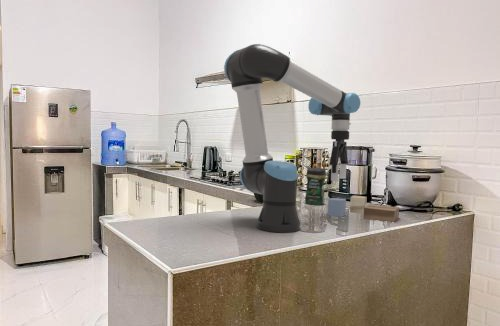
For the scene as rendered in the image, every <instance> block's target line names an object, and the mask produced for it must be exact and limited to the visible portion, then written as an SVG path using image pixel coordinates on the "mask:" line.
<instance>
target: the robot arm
mask: <svg viewBox="0 0 500 326" xmlns="http://www.w3.org/2000/svg"><path fill="white" fill-rule="evenodd" d="M223 69H224V75H225V77H226V79H227V80H228V81H229V82H230V83H231V89H232V90H233V91H235V93H236V96H237V104H238V111H239V119H240V124H241V125H240V126H241V132H242V139H243V145H244V153H245V157H244V158H243V159H242V168H241V170H240V171H239V172H240V173H239V180H240V183H241V185H242V186H243V188H245V189H246V190H247V191H249V192H250V193H253V194H254V193H257V194H262V195H263V202H262V207H261V209H260V210H261V211H260V213H259V216H258V218H257V225H256V226H257V229H259V230H262V231H265V232H271V233H293V232H298V231H299V230H301V221H300V218H299V214H298V210H297V192H298V191H297V189H298V178H299V177H298V176H299V175H298V168H297V166H296V165H295V164H293V163H292V162H287V161H282V160H274V157H273V155H272V154H270V153H269V150H268V149H269V148H268V143H267V136H266V128H265V121H264V113H263V106H262V97H261V87H263V85H264V84H263V79H268V80H271V81H273V82H275V83H278V82H281V83H283V84H285V85H287V86H289V87H291V88H293V89H295V90H296V91H297V92H300V93H301V94H303V95H306V96H308V97H310V99H309V101H308V107H307V108H308V111H309V113H310V114H311V115H315V116H329V117H331V132H330V133H331V135H330V137H331V138H330V139H331V140H333V141H332V149H331V154H330V160H329V164H328V165H329V166H331V168H330V182H331V181H332V182H338V181H339V179H340V180H341V179H343V180H344V179H345V180H346V179H347V165H349V160H348V159H349V158H348V148H347V147H348V146H347V141H346V140H348V141H349V139H350V131H349V130H350V126H351V125H352V123H351V122H350V120H351V119H350V118H351V114H353V113H357V111H358V110H359V109H360V107H361V99H360V97H359V95H358V94H357V93H355V92H344V91H343V90H341V89H340V88H337V87H336V86H334V85H332V84H330V83H329V82H327V81H325V80H323V79H322V78H320V77H318V76H317V75H315V74H313V73H311V72H309V71H307V70H306V69H305V68H302V67H301V66H299V65H298V64H295V63H294V62H292V61H291V57H289V56H288V55H286V54H284V52H283V53H282V52H281V51H279V50H277V49H275V48H274V47H273V48H272V47H270V46H268V45H265V44H260V43H254V44H250V45H248V46H246V47H243V48H240V49H236V50H235V51H233V52H232V53H231V54H230V55H228V57H227V58H226V59H225V62H224V66H223ZM334 140H335V141H334ZM339 162H340V163H339Z"/></svg>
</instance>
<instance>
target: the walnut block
mask: <svg viewBox="0 0 500 326" xmlns="http://www.w3.org/2000/svg"><path fill="white" fill-rule="evenodd" d="M399 216H400V207H399V206H397V207H396V206H390V205H388V206H387V205H382V204H381V205H380V204H379V205H378V204H368V205H366V207H365V208H364V213H363V220H367V221H368V220H369V221H376V220H379V222H384V221H390V222H389V223H392V222H394V221H395V220H396V221H397V220H399V218H400V217H399ZM396 221H395V222H396ZM395 222H394V223H395Z"/></svg>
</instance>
